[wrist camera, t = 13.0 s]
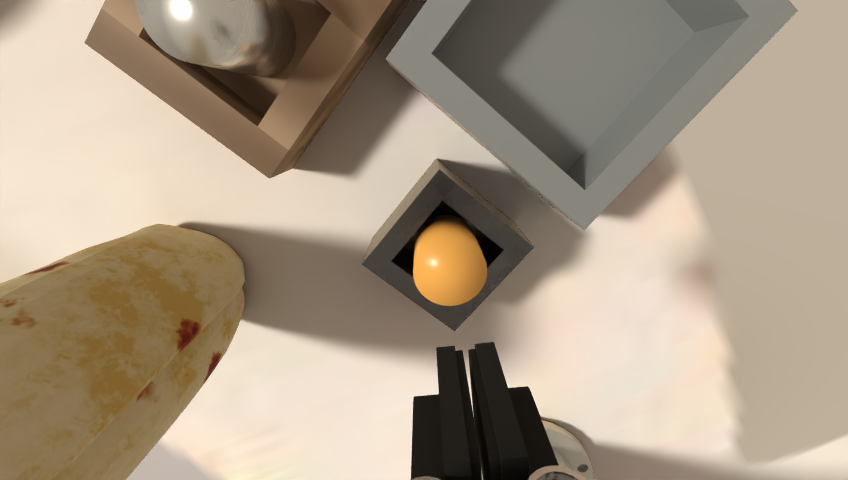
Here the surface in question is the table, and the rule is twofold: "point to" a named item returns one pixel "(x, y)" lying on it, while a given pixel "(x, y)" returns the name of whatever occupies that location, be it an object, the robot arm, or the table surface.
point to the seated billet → (222, 33)
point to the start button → (448, 261)
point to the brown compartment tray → (250, 95)
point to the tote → (580, 81)
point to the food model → (111, 350)
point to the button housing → (434, 198)
